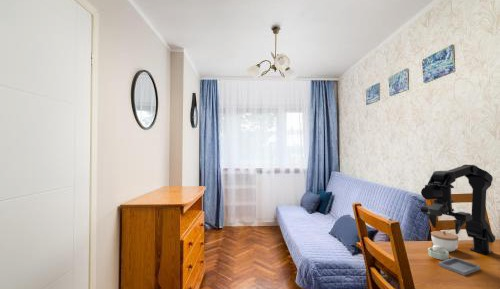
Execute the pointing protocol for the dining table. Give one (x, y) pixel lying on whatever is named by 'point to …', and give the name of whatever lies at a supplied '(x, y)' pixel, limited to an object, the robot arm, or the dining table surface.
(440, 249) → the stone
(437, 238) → the lidded jar
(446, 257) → the bowl
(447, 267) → the parts tray
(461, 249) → the dining table surface
